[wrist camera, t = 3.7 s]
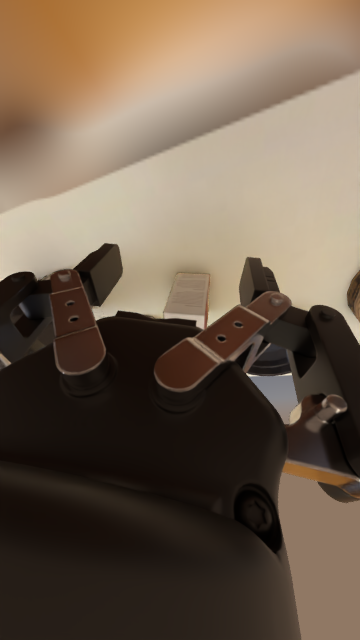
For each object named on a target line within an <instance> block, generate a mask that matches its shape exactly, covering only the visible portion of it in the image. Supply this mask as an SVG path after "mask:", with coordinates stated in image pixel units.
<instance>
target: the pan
mask: <svg viewBox="0 0 360 640" xmlns="http://www.w3.org/2000/svg"><path fill="white" fill-rule="evenodd" d="M247 373H248V374H252V375H258V376H276V375H284V374H287V373H291V367H290V363H289V358H288V353H287V349H285V348H282V347H280V346H277V345H274V344H272V343H271V345H270V346H269V347H268V348H267V349H266V350H265V351H264V352H263V353H262V354H261V355H260V357H259V358H258V359H257V360H256V361H255V362H254V363H253V364H252V366H251V367H250V369H249V370H248V372H247Z"/></svg>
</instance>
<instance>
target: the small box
mask: <svg viewBox="0 0 360 640" xmlns="http://www.w3.org/2000/svg"><path fill="white" fill-rule="evenodd" d="M209 286H210V274H191V273H177V275H176V278H175V281H174V284H173V286H172V289H171V292H170V295H169V297H168V300H167V303H166V306H165V308H164V311H163V315H164V319H168V318H181V319H189V320H197V323H196V326H197V327H200V328H202V329H206V328H207V320H208V311H209Z"/></svg>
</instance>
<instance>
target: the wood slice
mask: <svg viewBox="0 0 360 640" xmlns="http://www.w3.org/2000/svg"><path fill="white" fill-rule="evenodd" d="M347 300H348V306H349V307H350V309H351V310H352V312H353V313H354V315H355V316H356V318H357V319H358V320H359V322H360V271H359V272H358V273H357V275H356V276H355V277H354V278H353V280H352V282H351V285H350V287H349V290H348V292H347Z"/></svg>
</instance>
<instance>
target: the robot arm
mask: <svg viewBox="0 0 360 640" xmlns="http://www.w3.org/2000/svg"><path fill="white" fill-rule="evenodd" d="M122 272H123V267H122V262H121V256H120V250H119V247H118V245H117V244H108V243H105V244H103V245H102V246H101V247H100V248H99V249H98V250H96V251H94V252H92V253H90V254H89V255H88V256H87V257H86V258H85V259H84V260H82V261H81V262H80V263H79V264H78V265H77V266H76V267H75V268H74V269H64V270H60V271H56V272H54V273H52V274H51V275H50V276H45V277H44V278H43V279H41V280H37V279H36V277H35V275H34V274H33V273H32V272H18V273H15V274H12V275H10V276H8V277H6V278H5V279H4V280H2V281H1V282H0V640H301V634H300V628H299V622H298V615H297V609H296V602H295V596H294V590H293V583H292V577H291V571H290V566H289V561H288V556H287V551H286V547H285V543H284V538H283V534H282V529H281V525H280V519H279V512H278V490H279V482H280V477H281V473H282V472H283V473H287V474H291V475H295V476H299V477H303V478H307V479H310V480H314V481H317V482H318V484H319V485H320V486H321V488H322V489H323V490H324V491H325V492H326V493H327V494H328V495H329V496H330V497H332V498H334V499H335V500H337V501H339V502H344V503H348V502H353V501H358V500H360V345H359V343H358V342H357V340H356V338H355V336H354V334H353V333H352V331H351V329H350V327H349V326H348V324H347V322H346V320H345V319H344V317H343V315H342V314H341V313H339V312H338V311H337V310H335V309H333V308H331V307H328V306H323V305H315V306H312V307H311V308H310V310H309V312H308V311H305V310H301V309H298V308H295V307H293V306H291V304H292V303H291V300H290V299H289V297H287V296H286V295H284V294H282V293H280V291H279V288H278V285H277V282H276V280H275V277H274V274H273V272H272V271H271V270H270V269H269V268H268V267H263V266H262V263H261V259H260V258H252V257H247V258H246V261H245V265H244V269H243V272H242V276H241V280H240V285H239V293H240V302H241V305H240V304H239V305H237V306H236V307H234V308H233V309H231V310H230V311H229V312H227V313H226V314H225V315H223V316H222V317H221V318H219V319H218V320H217V321H215V322H214V323H212V324H211V325H210V326H208V327H207V328H206V329H202V328H200V327H197V326H196V323H197V320H189V319H181V318H168V319H153V318H150V317H147V316H144V315H141V314H138V313H133V312H125V311H118V312H117V314H116V315H115V316H112V317H106V318H102V319H99V320H95V317H94V315H93V312H92V308H93V306H99V307H100V306H101V305H102V304H103V302H104V301H105V299H106V298H107V296H108V295H109V293H110V292H111V291H112V289H113V288H114V286H115V285H116V283H117V282H118V281H119V279H120V278H121V276H122ZM271 343H272V344H274V345H277V346H280V347H282V348H285V349H287V353H288V358H289V363H290V367H291V372H292V376H293V381H294V385H295V390H296V395H297V399H298V405H297V406H296V407H295V408H294V409H293V410H292V411H291V413H290V416H289V424H284V423H283V421H282V419H281V417H280V415H279V413H278V412H277V410H276V409H275V408H274V406H273V405H272V404H271V403H270V402H269V401H268V399H267V398H266V397H265V396H264V395H263V393H262V392H261V391H260V390H259V389H258V388H257V386H256V385H255V384H254V383H253V382H252V380H251V379H250V378H249V377H248V376H247V375H246V373H247V372H248V370H249V369H250V367H251V366H252V364H253V363H254V362H255V361H256V360H257V359H258V358H259V357H260V355H261V354H262V353H263V352H264V351H265V350H266V349H267V348H268V347H269V346H270V345H271Z"/></svg>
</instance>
